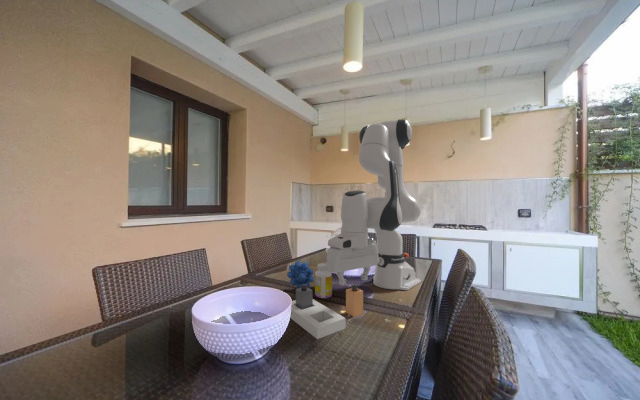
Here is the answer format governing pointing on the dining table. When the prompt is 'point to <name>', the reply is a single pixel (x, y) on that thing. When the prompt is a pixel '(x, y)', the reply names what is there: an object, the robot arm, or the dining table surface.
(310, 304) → the twin plug
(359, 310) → the plug
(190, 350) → the dining table surface
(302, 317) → the light grey socket block
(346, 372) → the dining table surface
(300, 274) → the grapes
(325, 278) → the supplement bottle
